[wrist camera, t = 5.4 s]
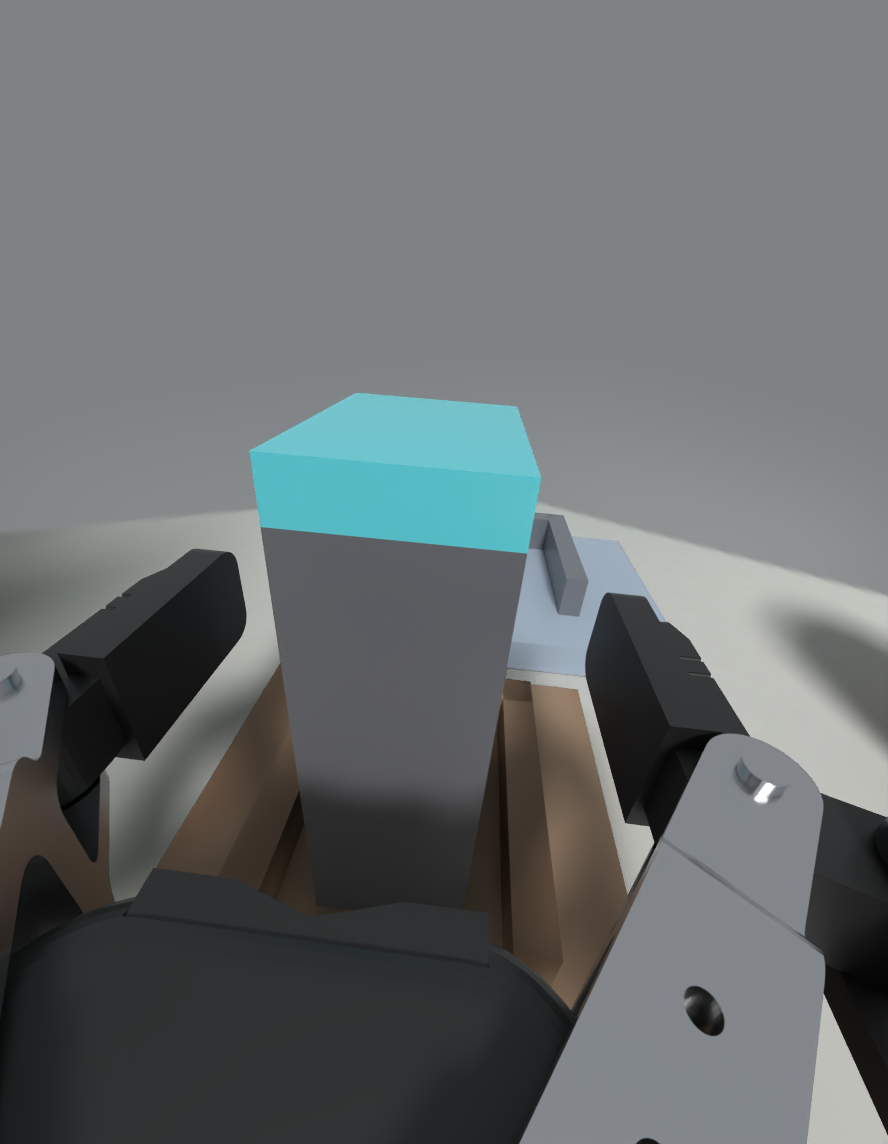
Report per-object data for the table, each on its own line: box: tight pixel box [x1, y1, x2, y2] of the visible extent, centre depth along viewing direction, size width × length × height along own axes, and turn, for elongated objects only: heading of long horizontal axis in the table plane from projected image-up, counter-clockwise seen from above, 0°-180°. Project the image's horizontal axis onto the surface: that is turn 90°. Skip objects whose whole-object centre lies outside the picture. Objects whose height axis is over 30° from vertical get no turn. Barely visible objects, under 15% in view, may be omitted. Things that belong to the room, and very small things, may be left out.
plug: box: [249, 393, 541, 910], centre depth 10 cm, size 4×5×11 cm
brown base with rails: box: [156, 663, 627, 1010], centre depth 13 cm, size 12×12×2 cm
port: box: [507, 513, 666, 676], centre depth 25 cm, size 16×12×4 cm
